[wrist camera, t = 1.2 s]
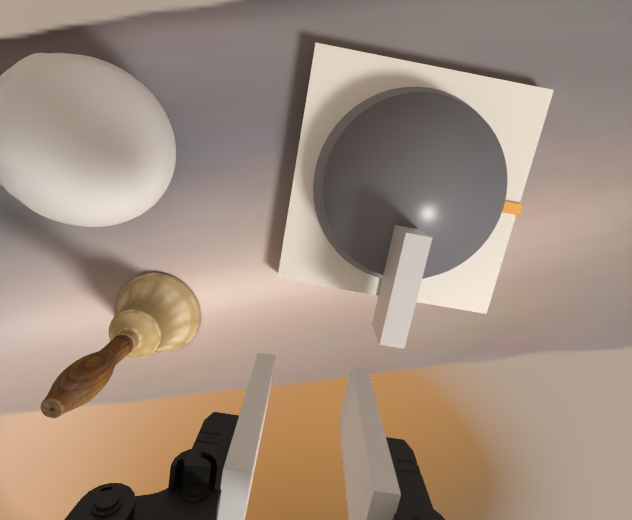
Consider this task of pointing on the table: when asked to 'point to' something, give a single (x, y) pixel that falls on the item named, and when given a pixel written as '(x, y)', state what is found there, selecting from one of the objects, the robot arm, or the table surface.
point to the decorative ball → (82, 140)
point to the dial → (413, 196)
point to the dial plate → (350, 101)
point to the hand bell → (130, 337)
